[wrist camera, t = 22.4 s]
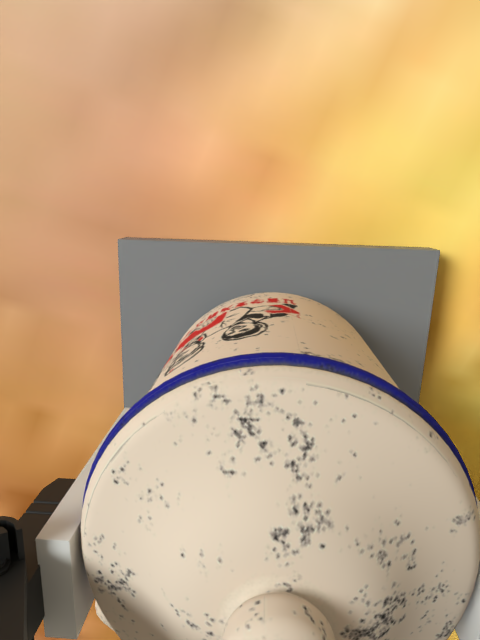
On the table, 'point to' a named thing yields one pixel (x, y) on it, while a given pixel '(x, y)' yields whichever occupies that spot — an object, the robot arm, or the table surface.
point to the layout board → (273, 276)
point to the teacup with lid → (278, 492)
